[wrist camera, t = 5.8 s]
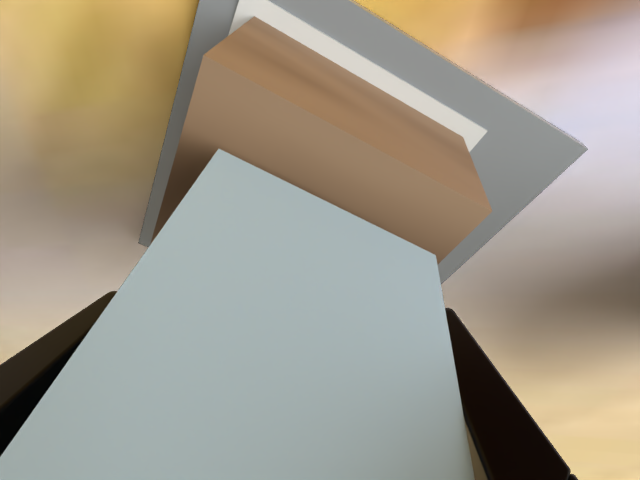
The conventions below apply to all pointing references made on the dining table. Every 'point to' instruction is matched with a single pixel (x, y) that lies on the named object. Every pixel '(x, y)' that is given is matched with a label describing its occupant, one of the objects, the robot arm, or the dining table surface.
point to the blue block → (258, 353)
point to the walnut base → (327, 140)
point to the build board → (402, 83)
